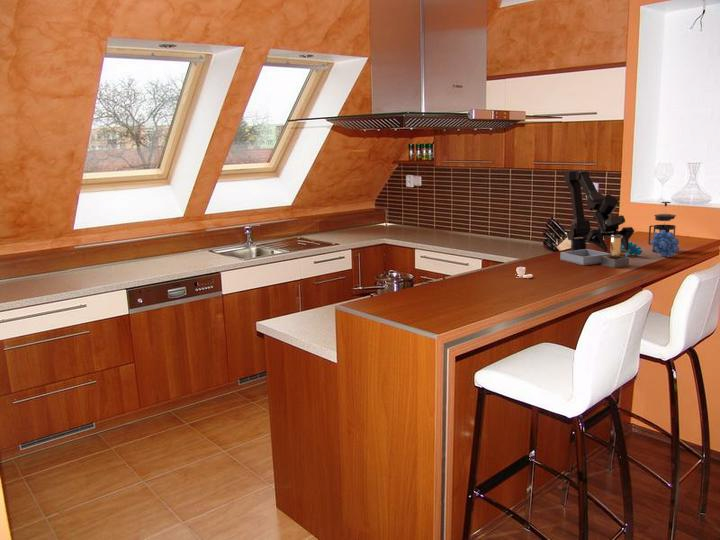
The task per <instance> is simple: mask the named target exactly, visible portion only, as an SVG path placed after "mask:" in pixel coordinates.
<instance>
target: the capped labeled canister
mask: <svg viewBox="0 0 720 540" xmlns="http://www.w3.org/2000/svg"><path fill="white" fill-rule="evenodd" d="M609 253H610V258H612V259H619V258H620V256H621V254H622V253H621V235H620V234H612V235H611V237H610V251H609ZM620 253H621V254H620Z"/></svg>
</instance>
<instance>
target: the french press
mask: <svg viewBox="0 0 720 540" xmlns="http://www.w3.org/2000/svg"><path fill="white" fill-rule="evenodd" d="M671 203H672V201H662V202H660V204H664V213H659V214H654V217H655V218H654V220H655V221H659V222H664V223H663V224H654V225H652V224H651V225H649V227H648V229H649V230H648V245H652V250H651V252H653V253H656V254H660V252H656V251H655V250H654V247H655V245H653V244H652V243H651V240H652V239H655V238H654V233H656V230H658V231H659V232H658V233H659V234H660V231H661V230H665V231H666V232H667V233H668V232H670V230H673V234H674V238H676V227H677V226H676V225H675V224H666V222H670V221H671V220H674V219H675V217H677V215H676V214H671V213H667V207H668V204H671ZM652 227H653V232H652ZM652 233H653V236H652ZM651 237H653V238H652V239H651Z"/></svg>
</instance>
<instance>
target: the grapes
mask: <svg viewBox="0 0 720 540" xmlns="http://www.w3.org/2000/svg"><path fill="white" fill-rule="evenodd" d="M653 233H654V232H653ZM654 238H655V239H653V238H652V239H651V240H650V243H652V244H653V245H655V247H654V250H655V251H656V252H660V253H659V254H660V256H661V257H664V258H666V257H667V256H668V257H670V258H673V257H675V253H678V252H679V251H680V247H679V244H680V241H679V239H678V238H676V237H675V238H674V232H670V231H669V232H668V233H667V232H666V231H665V230H661V231H660V234H659V232H656V231H655V233H654ZM653 245H652V246H653ZM656 252H655V253H656Z"/></svg>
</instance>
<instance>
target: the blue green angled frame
mask: <svg viewBox="0 0 720 540" xmlns="http://www.w3.org/2000/svg"><path fill="white" fill-rule="evenodd" d="M637 246H638V244H637V243H633V241H630V240H628V250H626V249H625V248H624V246H623V245H622V243H621V253H620V255H621V254H624V253H625V256H624V257H628V258H629V255H630V256H633V255H634V256H641V255H642V254H643V250H642V247H641V246H638V247H637Z"/></svg>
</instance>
